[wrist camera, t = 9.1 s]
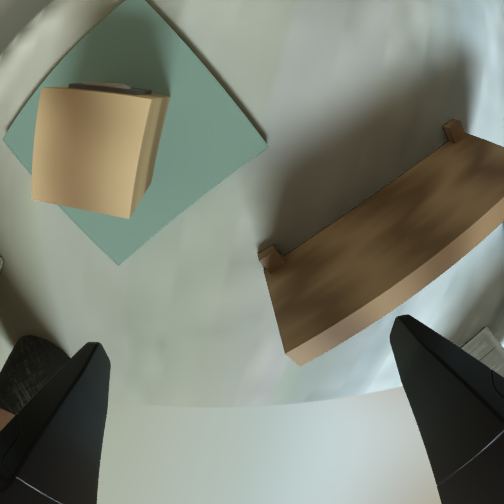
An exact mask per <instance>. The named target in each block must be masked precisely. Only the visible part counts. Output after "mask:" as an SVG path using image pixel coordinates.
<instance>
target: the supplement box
mask: <svg viewBox="0 0 504 504" xmlns="http://www.w3.org/2000/svg"><path fill="white" fill-rule="evenodd" d="M461 349H463V350H464V351H466V352H467V353H469V354H470V355H472V356H473V357H475V358H476V359H478V360H479V361H480V362H482V363H483V364H485V365H486V366H488V367H489V368H490V370H491V369H492V370H494V371H495V372H497V373H498V374H500V375H501V376H503V377H504V348H503V347H502V345H501V344H500V343H499V341H498V340H497V339H496V338H495V336H494V335H493V334H492V333H491V331H490V330H489V329H488V328H487V327H485V328H484V329H483V330H482V331H481V332H479V333H478V334H477V335H476V336H475V337H474V338H473V339H471V340H470V341H469V342H468V343H467V344H465V345H464V346H463V347H462V348H461Z"/></svg>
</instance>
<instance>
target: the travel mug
mask: <svg viewBox="0 0 504 504" xmlns="http://www.w3.org/2000/svg"><path fill="white" fill-rule="evenodd" d="M69 360H70V359H69V357H68V356H67V355H66V354H65V353H64V352H63V351H62V350H60V349H59V348H58V347H56V346H55V345H53V344H51V343H50V342H48V341H46V340H43V339H41V338H38V337H34V336H25V337H22V338H21V339H19V340H18V342H17V343H16V345H15V346H14V348H13V350H12V352H11V353H10V355H9V357H8V359H7V361H6V363H5V364H4V366H3V368H2V370H1V372H0V431H1V430H2V429H3V428H4V427H5V425H6V424H7V423H8V422H9V421H10V420H11V419H12V418H13V417H14V416H15V415H16V414H17V413H18V414H19V411H20V410H21V409H22V408H23V407H24V406H25V404H26V403H27V402H28V401H29V400H30V399H31V398H32V397H33V396H34V395H35V394H36V393H37V392H38V391H39V390H40V389H41V388H42V387H43V386H44V385H45V384H46V383H47V382H48V381H49V380H50V379H51V378H52V377H53V376H54V375H55V374H56V373H57V372H58V371H59V370H60V369H61V368H62V367H63V366H64V365H65V364H66V363H67V362H68V361H69Z"/></svg>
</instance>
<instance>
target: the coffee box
mask: <svg viewBox="0 0 504 504" xmlns="http://www.w3.org/2000/svg"><path fill="white" fill-rule="evenodd" d="M2 265H3V259H2V258H1V257H0V272H1V268H2Z"/></svg>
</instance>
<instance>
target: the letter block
mask: <svg viewBox="0 0 504 504" xmlns="http://www.w3.org/2000/svg"><path fill="white" fill-rule="evenodd" d="M169 101H170V97H169V96H163V95H158V94H152V90H146V89H140V88H133V87H132V86H126V84H118V83H99V82H87V81H83V83H70V84H69V86H59V87H46V88H41V93H40V99H39V105H38V112H37V119H36V127H35V136H34V147H33V161H32V190H31V199H32V200H37V201H42V202H47V203H52V204H57V205H62V206H67V207H72V208H77V209H82V210H87V211H92V212H97V213H102V214H107V215H112V216H117V217H122V218H126V219H130V217H131V215H132V214H133V212H134V210H135V209H136V207H137V205H138V204H139V202H140V200H141V199H142V197H143V196H144V194H145V192H146V191H147V189H148V188H149V186H150V184H151V182H152V176H153V171H154V166H155V161H156V156H157V152H158V147H159V142H160V138H161V134H162V129H163V125H164V121H165V117H166V113H167V109H168V105H169Z"/></svg>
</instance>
